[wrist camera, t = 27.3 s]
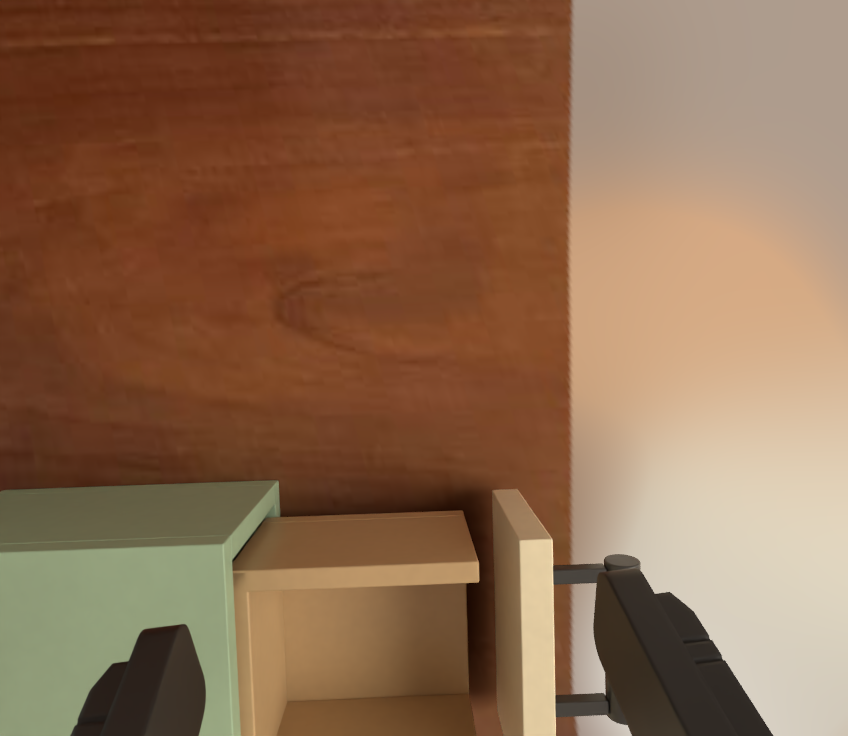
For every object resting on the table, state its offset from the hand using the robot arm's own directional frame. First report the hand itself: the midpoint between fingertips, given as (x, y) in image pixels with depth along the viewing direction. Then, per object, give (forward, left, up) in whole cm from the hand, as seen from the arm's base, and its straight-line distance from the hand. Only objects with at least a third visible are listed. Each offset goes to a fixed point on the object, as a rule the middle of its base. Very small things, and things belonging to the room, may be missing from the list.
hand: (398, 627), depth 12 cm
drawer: (+1, +7, -16) cm, 18 cm away
